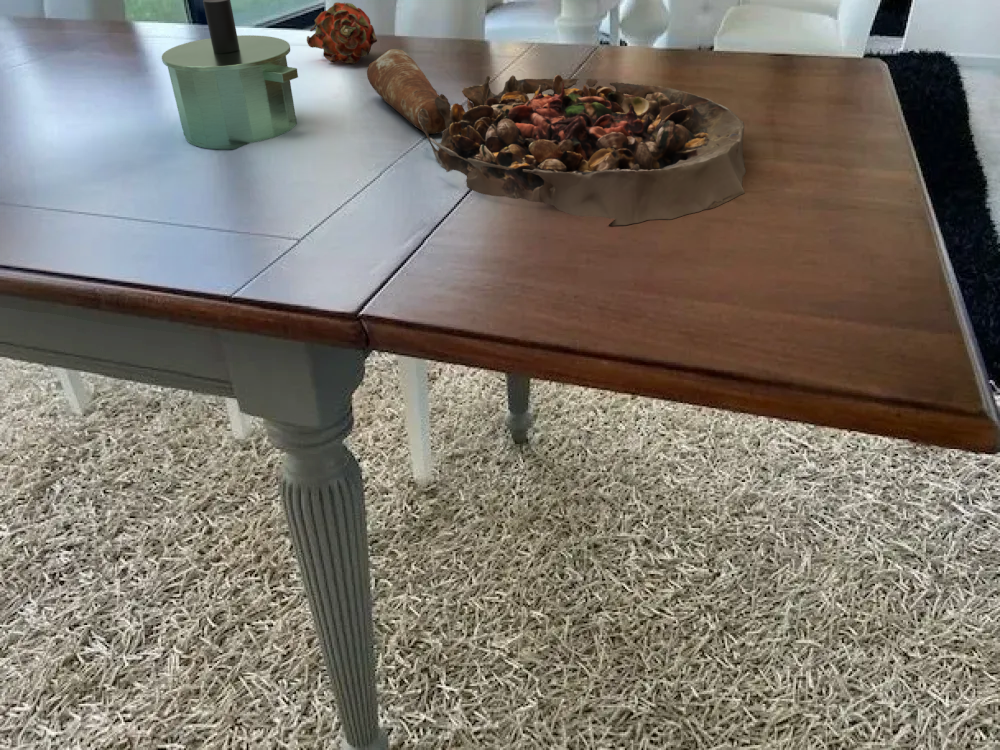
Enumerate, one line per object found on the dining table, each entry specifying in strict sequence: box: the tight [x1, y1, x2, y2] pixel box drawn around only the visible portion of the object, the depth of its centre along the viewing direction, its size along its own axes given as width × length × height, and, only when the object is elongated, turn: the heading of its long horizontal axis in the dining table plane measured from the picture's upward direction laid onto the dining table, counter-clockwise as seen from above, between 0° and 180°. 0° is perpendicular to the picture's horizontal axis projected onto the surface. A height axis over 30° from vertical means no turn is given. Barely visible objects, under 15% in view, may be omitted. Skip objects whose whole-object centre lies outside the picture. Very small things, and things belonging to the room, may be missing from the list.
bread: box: [366, 48, 446, 135], centre depth 101 cm, size 6×19×6 cm, turn 19°
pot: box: [167, 55, 299, 150], centre depth 96 cm, size 13×18×8 cm
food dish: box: [418, 74, 746, 227], centre depth 87 cm, size 35×33×8 cm
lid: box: [161, 0, 291, 72], centre depth 93 cm, size 14×14×6 cm
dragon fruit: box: [306, 1, 378, 65], centre depth 122 cm, size 8×8×12 cm
